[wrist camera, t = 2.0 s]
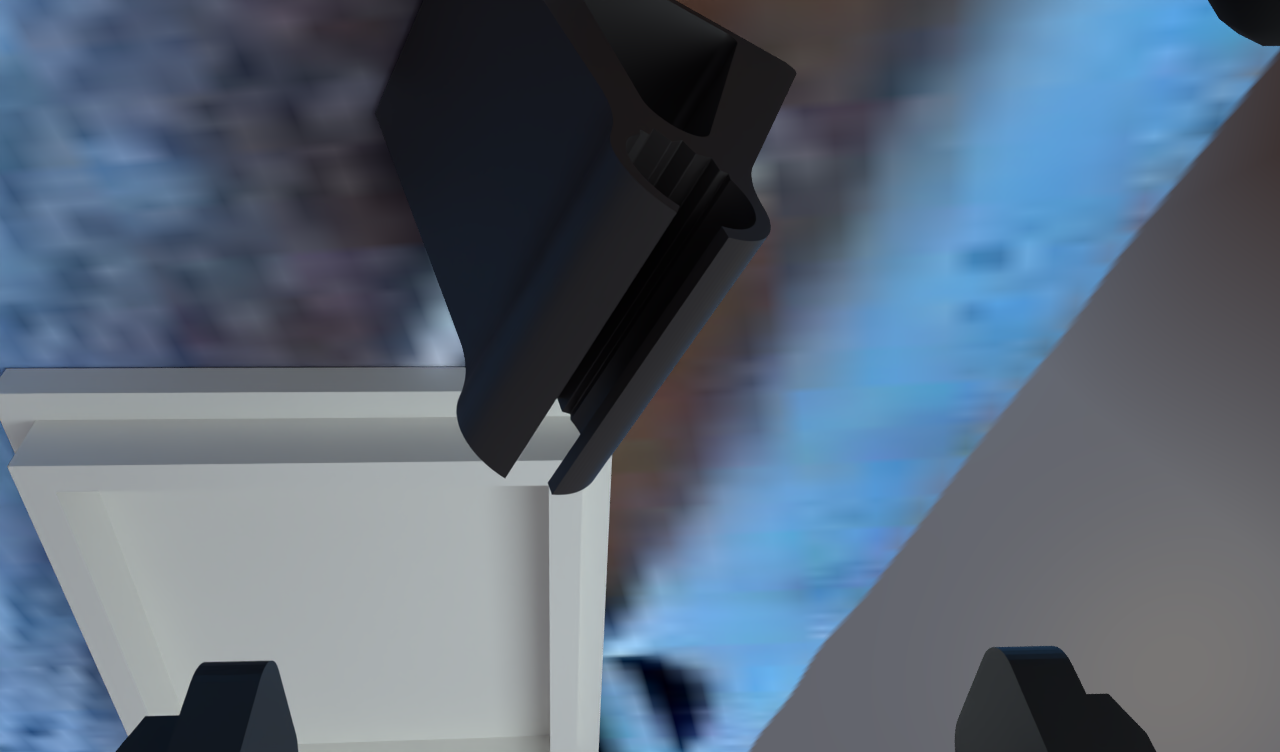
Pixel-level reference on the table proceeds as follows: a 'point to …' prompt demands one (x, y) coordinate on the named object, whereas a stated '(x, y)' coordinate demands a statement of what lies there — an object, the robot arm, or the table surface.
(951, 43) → the table surface
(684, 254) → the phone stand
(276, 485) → the shallow square tray
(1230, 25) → the coffeepot
